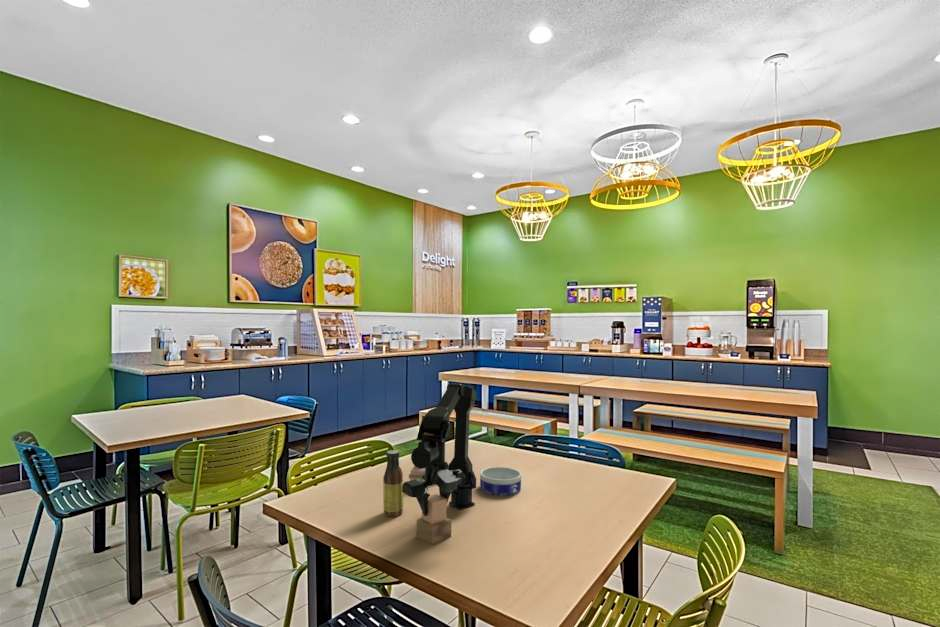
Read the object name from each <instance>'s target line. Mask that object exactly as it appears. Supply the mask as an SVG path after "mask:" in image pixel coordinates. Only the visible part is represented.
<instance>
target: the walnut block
mask: <svg viewBox="0 0 940 627" xmlns="http://www.w3.org/2000/svg"><path fill="white" fill-rule="evenodd" d="M417 536H418V537H417ZM416 537H417V538H419V537H420V539H421V540H423V541H425V542H427V543H428V544H430V545H435V544H437V543H439V542H442V541H443V540H447V539H449V538H451V537H452V519H450V518H448V517H446V520H445V521H442V522H439V523H436V524H433V525H432V524H430V523H428V522H426V521H425V520H423V519H422V517H419V518H417V519H416Z"/></svg>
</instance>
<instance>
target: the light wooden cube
mask: <svg viewBox="0 0 940 627" xmlns="http://www.w3.org/2000/svg"><path fill="white" fill-rule="evenodd" d="M447 505H448V502H447V499H446V498H444V497H442V496H440V494H439V493H438V494H437V493H435V494H430V496H429V497H428V512H427V516H424V514H423V512H422V511H421V518H422V519H423V520H425V521H426V522H428V523H430V524H432V525H433V524H436V523H439V522H442V521H445V520H446V518H447Z"/></svg>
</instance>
